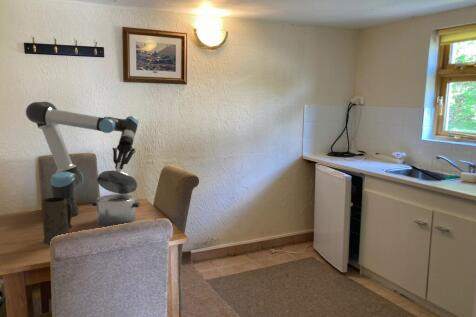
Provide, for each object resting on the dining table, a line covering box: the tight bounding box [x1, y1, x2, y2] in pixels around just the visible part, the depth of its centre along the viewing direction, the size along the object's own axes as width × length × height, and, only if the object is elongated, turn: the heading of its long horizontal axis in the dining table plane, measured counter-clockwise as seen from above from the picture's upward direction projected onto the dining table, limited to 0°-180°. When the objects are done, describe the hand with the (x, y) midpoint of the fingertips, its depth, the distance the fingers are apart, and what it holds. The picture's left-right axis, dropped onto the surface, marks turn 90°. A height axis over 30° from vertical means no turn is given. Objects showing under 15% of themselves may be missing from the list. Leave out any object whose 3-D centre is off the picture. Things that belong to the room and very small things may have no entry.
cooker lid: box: [96, 170, 138, 194], centre depth 211 cm, size 21×21×4 cm
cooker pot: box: [91, 193, 141, 227], centre depth 210 cm, size 25×21×12 cm
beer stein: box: [41, 197, 73, 245], centre depth 181 cm, size 15×11×20 cm
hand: (117, 173), depth 208 cm, fingers closed
